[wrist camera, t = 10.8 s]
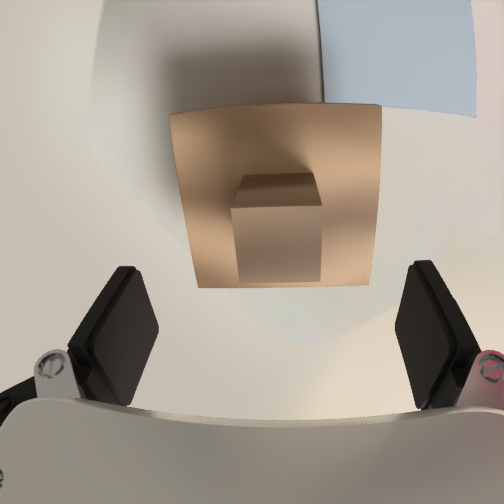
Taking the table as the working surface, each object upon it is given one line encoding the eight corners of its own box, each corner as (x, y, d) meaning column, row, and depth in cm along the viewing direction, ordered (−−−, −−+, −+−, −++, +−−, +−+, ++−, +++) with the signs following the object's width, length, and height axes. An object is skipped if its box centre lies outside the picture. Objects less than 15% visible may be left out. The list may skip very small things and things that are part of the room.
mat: (310, -50, 15) (311, -51, 15) (464, -24, 14) (466, -25, 13) (324, 104, 22) (325, 104, 21) (473, 117, 20) (475, 117, 20)
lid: (173, 113, 18) (131, 130, 13) (376, 104, 16) (414, 117, 11) (201, 280, 24) (180, 337, 19) (366, 277, 22) (384, 335, 17)
